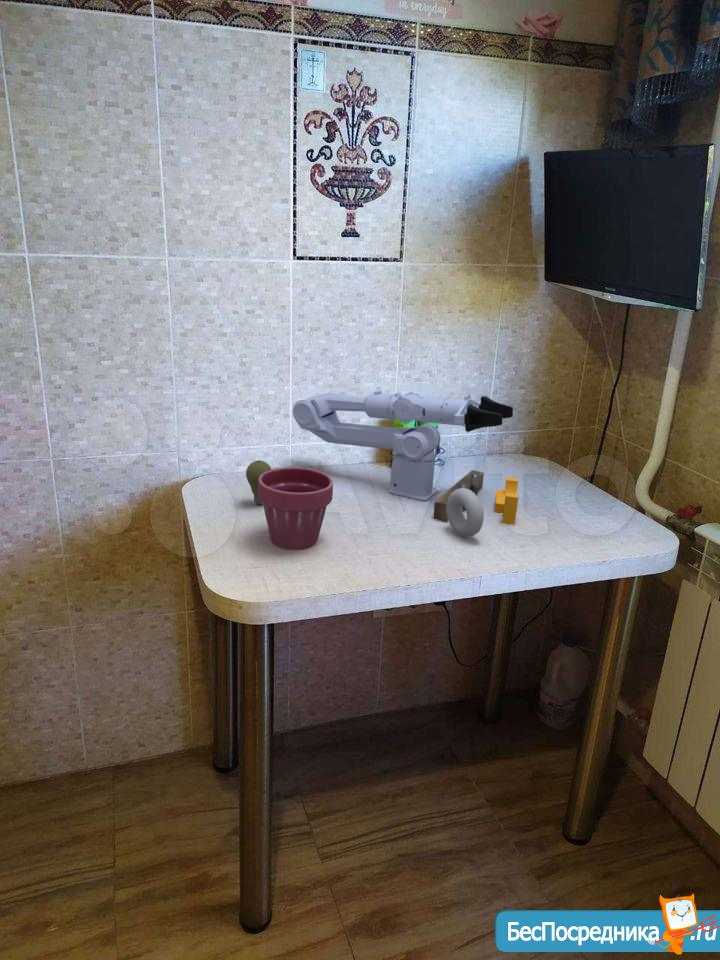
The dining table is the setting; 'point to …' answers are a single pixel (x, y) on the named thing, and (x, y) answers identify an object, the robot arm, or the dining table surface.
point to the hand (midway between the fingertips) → (507, 416)
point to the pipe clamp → (507, 501)
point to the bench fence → (469, 481)
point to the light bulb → (256, 476)
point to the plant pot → (294, 505)
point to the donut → (473, 512)
